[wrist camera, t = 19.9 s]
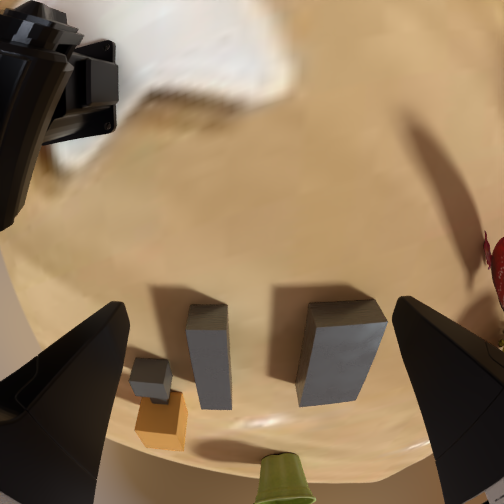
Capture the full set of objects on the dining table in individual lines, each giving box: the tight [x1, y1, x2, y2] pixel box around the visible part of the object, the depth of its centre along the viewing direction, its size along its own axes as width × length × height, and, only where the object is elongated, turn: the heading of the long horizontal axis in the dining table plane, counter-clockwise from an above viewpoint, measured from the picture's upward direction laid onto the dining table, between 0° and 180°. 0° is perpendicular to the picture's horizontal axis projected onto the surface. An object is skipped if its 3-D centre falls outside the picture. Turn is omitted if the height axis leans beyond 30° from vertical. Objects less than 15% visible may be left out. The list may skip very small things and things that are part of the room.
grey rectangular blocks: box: [186, 300, 388, 410], centre depth 25 cm, size 16×11×3 cm
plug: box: [129, 358, 188, 451], centre depth 27 cm, size 4×10×6 cm, turn 0°
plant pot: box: [253, 453, 316, 504], centre depth 36 cm, size 9×9×9 cm
